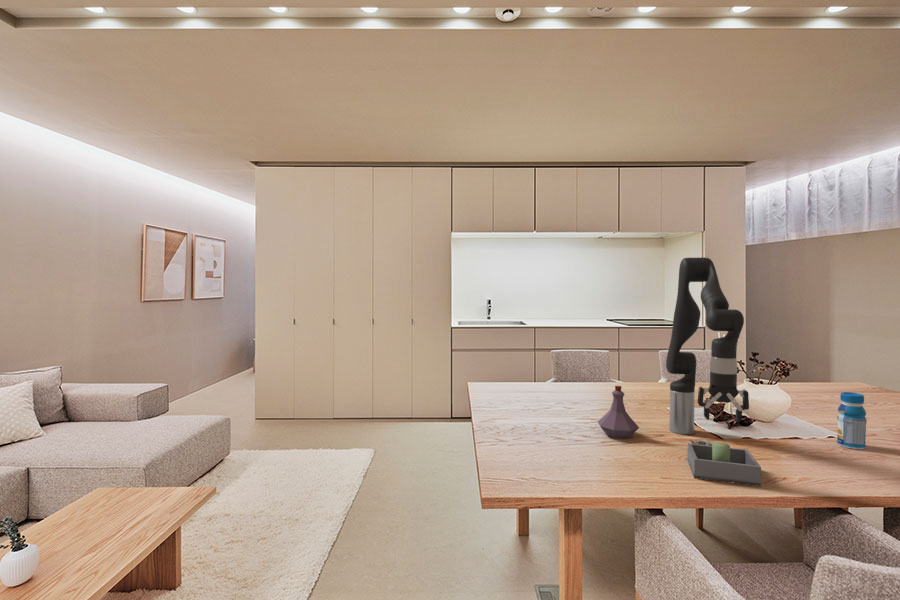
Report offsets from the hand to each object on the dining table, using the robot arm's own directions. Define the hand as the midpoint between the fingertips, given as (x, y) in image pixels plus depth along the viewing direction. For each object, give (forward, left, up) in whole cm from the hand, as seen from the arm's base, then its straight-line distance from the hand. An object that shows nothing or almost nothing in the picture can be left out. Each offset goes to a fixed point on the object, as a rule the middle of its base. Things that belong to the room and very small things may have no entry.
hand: (722, 420), depth 151 cm
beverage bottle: (-45, +51, -17) cm, 70 cm away
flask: (-29, -32, -17) cm, 47 cm away
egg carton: (-19, -1, -18) cm, 26 cm away
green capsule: (0, 0, -16) cm, 16 cm away
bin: (0, 0, -17) cm, 17 cm away
